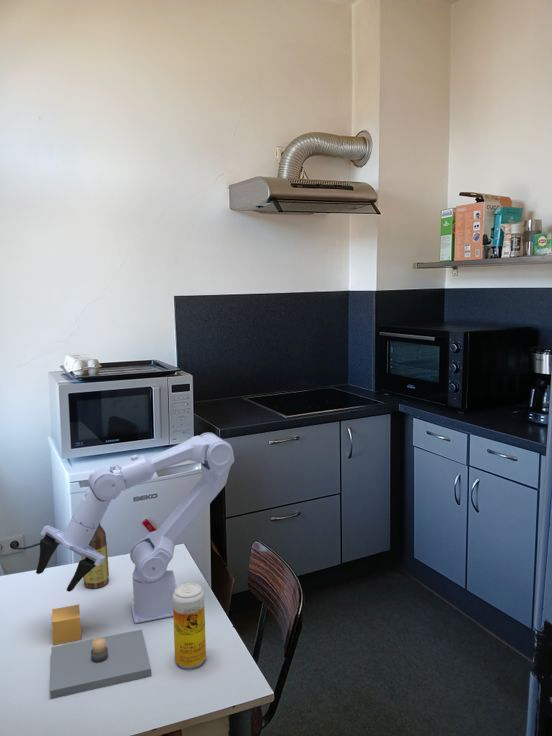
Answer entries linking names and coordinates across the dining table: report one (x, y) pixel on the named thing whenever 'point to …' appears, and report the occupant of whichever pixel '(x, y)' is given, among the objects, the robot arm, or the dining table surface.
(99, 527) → the sauce bottle
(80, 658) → the post board
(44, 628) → the dining table surface
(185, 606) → the beer can
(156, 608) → the robot arm
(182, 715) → the dining table surface
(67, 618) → the orange cube
